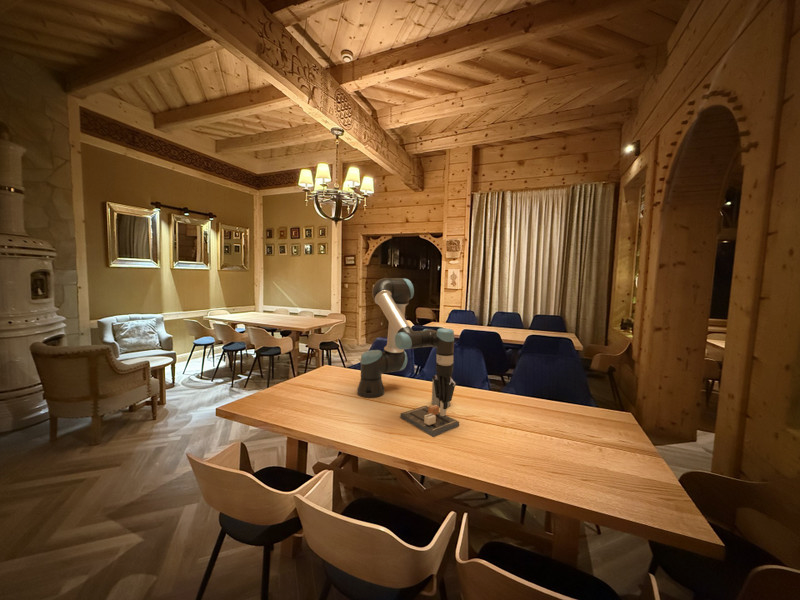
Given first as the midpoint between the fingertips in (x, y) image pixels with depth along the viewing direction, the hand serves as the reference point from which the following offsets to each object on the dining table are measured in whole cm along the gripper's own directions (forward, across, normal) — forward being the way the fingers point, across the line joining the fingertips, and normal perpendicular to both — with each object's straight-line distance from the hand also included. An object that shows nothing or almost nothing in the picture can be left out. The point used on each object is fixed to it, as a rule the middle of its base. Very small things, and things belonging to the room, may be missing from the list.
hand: (443, 414), depth 145 cm
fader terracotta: (+2, -6, 0) cm, 6 cm away
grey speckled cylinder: (+4, -16, +15) cm, 22 cm away
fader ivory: (+2, 0, -8) cm, 8 cm away
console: (+4, -5, -4) cm, 7 cm away
